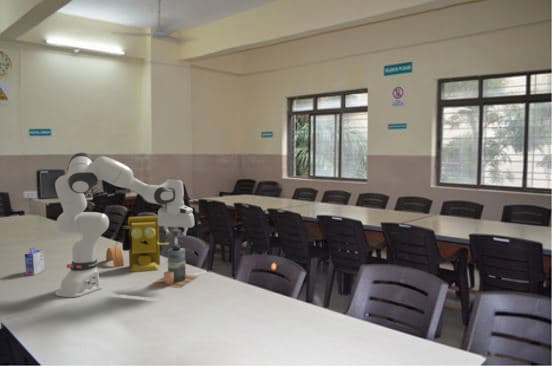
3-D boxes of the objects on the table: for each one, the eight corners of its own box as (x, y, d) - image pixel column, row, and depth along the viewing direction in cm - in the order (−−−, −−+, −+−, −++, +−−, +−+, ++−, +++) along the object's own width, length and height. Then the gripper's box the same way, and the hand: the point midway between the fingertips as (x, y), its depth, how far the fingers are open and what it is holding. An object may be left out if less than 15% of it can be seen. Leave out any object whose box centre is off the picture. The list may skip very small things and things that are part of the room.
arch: (113, 267, 271) (113, 251, 270) (106, 260, 287) (105, 245, 287) (123, 266, 274) (123, 250, 273) (115, 259, 291) (115, 244, 290)
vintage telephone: (113, 273, 258) (111, 221, 256) (115, 267, 272) (113, 217, 269) (169, 269, 267) (168, 219, 264) (168, 263, 280) (167, 215, 277)
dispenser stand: (180, 291, 227) (179, 252, 225) (148, 287, 232) (147, 250, 230) (199, 278, 248) (199, 243, 246) (170, 275, 253) (169, 241, 251)
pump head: (172, 248, 232) (171, 233, 231) (165, 248, 233) (164, 233, 232) (181, 244, 242) (181, 230, 241) (174, 244, 243) (174, 229, 242)
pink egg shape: (170, 285, 231) (170, 274, 230) (162, 285, 232) (161, 273, 231) (175, 282, 235) (175, 271, 235) (167, 282, 237) (166, 270, 236)
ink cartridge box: (36, 270, 265) (35, 245, 264) (45, 270, 265) (43, 246, 263) (25, 275, 255) (23, 249, 254) (34, 275, 255) (33, 250, 254)
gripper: (154, 209, 238) (155, 235, 240) (190, 210, 233) (190, 237, 234) (161, 207, 244) (161, 232, 246) (195, 208, 239) (196, 234, 240)
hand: (176, 234), depth 240 cm, fingers open, 8 cm apart
